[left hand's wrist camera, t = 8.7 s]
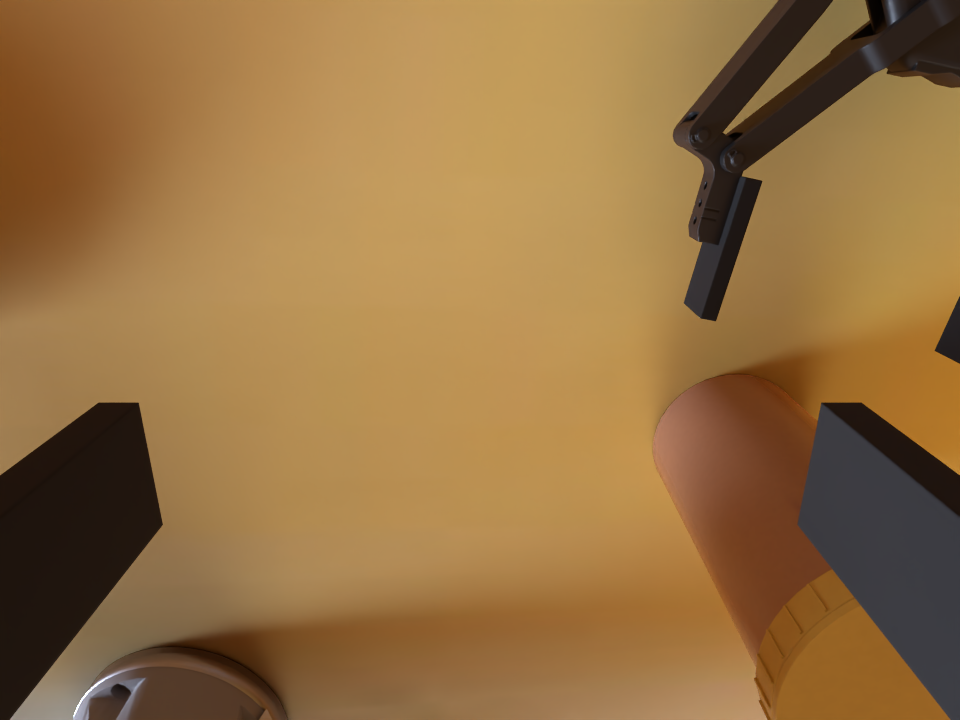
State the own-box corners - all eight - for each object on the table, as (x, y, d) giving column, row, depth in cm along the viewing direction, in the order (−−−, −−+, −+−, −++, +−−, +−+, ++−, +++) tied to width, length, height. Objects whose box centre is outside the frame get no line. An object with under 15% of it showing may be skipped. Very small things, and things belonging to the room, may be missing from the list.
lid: (991, 754, 26) (1027, 800, 25) (737, 756, 27) (755, 802, 25) (1066, 542, 23) (1115, 578, 21) (772, 545, 23) (797, 581, 21)
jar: (789, 504, 43) (1009, 780, 25) (647, 506, 43) (765, 781, 25) (812, 372, 39) (1084, 580, 22) (658, 374, 40) (803, 583, 22)
